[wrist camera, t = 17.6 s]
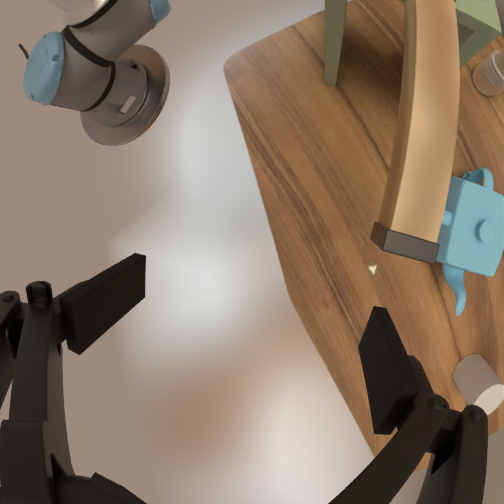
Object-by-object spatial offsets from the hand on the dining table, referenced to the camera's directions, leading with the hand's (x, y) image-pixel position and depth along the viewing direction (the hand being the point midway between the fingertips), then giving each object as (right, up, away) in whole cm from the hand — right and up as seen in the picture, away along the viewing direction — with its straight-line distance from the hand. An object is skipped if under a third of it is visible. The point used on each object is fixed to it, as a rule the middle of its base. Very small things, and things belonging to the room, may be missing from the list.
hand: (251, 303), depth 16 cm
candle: (+44, +35, +19) cm, 59 cm away
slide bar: (+12, +14, -1) cm, 18 cm away
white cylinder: (+47, -22, +31) cm, 60 cm away
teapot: (+34, +7, +27) cm, 44 cm away
